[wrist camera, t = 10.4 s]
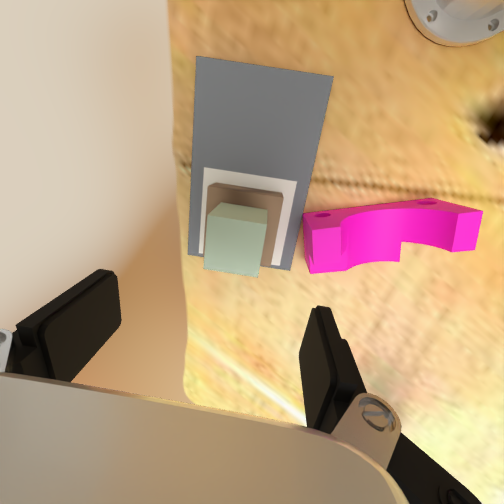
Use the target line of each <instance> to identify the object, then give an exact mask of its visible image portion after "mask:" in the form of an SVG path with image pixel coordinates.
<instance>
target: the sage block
mask: <svg viewBox="0 0 504 504" xmlns="http://www.w3.org/2000/svg"><path fill="white" fill-rule="evenodd" d="M267 212H268V210H266V209H260V208H254V207H247V206H241V205H235V204H228V203H222V202H221V203H220V204H219V205H218V206H217V207H216V208H215V209H213V210H212V211H211V212H210V213H209V214H208V215H207V229H206V242H205V255H204V268H203V269H208V270H214V271H220V272H227V273H233V274H239V275H245V276H251V277H258V274H259V268H260V262H261V257H262V251H263V245H264V240H265V234H266V228H267Z"/></svg>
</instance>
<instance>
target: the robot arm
mask: <svg viewBox="0 0 504 504" xmlns="http://www.w3.org/2000/svg"><path fill="white" fill-rule="evenodd" d="M405 3H406V6H407V9H408V12H409V15H410V17H411V19H412V21H413V22H414V24H415V26H416V27H417V29H418V30H419V31H420V32H421V33H422V34H423V35H424V36H425V37H427V38H429V39H430V40H432V41H434V42H435V43H438V44H442V45H445V46H457V47H462V46H467V45H472V44H476V43H479V42H481V41H484V40H486V39H489V38H491V37H493V36H494V35H496V34H498V33H500V32H502V31H504V0H405ZM427 19H428V21H427ZM120 324H121V310H120V300H119V290H118V280H117V276H116V275H115V274H114V272H113V271H109V270H103V269H98V270H96V271H95V272H93V273H92V274H90V275H89V276H88V277H86V278H85V279H83V280H82V281H80V282H79V283H77V284H76V285H74V286H73V287H71V288H70V289H68V290H67V291H65V292H64V293H62V294H61V295H59V296H58V297H56V298H55V299H53V300H52V301H50V302H49V303H47V304H46V305H45V306H43V307H42V308H40V309H39V310H37V311H36V312H34V313H33V314H31V315H30V316H28V317H27V318H25V319H24V320H22V321H21V322H19V323H18V324H17V325H16V328H17V330H16V331H15V332H13V333H11V332H10V331H9V330H5V329H0V504H482V503H481V502H480V501H479V500H478V498H477V497H475V496H474V495H473V494H472V493H471V492H470V491H469V490H468V489H467V488H466V487H465V486H464V485H462V484H461V483H460V482H459V481H458V480H457V479H455V478H454V477H453V476H452V475H451V474H449V473H448V472H447V471H446V470H445V469H444V468H442V467H441V466H440V465H439V464H438V463H436V462H435V461H434V460H433V459H432V458H431V457H429V456H428V455H427V454H426V453H425V452H424V451H422V450H421V449H420V448H419V447H418V446H416V445H415V444H414V443H413V442H412V441H411V440H409V439H408V438H407V437H406V436H405V435H403V434H402V433H401V423H400V419H399V417H398V415H397V414H396V412H395V411H394V409H393V408H392V407H391V406H390V405H389V404H388V403H387V402H386V401H384V400H383V399H381V398H380V397H378V396H376V395H373V394H370V393H367V391H366V389H365V386H364V383H363V381H362V378H361V376H360V373H359V370H358V368H357V365H356V363H355V360H354V357H353V355H352V352H351V349H350V347H349V344H348V342H347V341H346V340H345V339H341V336H340V334H339V331H338V328H337V325H336V322H335V319H334V317H333V314H332V311H331V309H330V308H329V307H324V306H317V307H316V308H312V310H311V314H310V317H309V320H308V324H307V327H306V331H305V334H304V337H303V341H302V344H301V348H300V351H299V363H300V371H301V380H302V388H303V397H304V405H305V414H306V422H307V427H304V426H300V425H297V424H293V423H288V422H283V421H278V420H273V419H268V418H263V417H258V416H254V415H248V414H243V413H238V412H232V411H227V410H221V409H216V408H211V407H205V406H200V405H195V404H189V403H184V402H178V401H173V400H167V399H162V398H156V397H150V396H145V395H139V394H134V393H128V392H123V391H117V390H111V389H106V388H100V387H93V386H88V385H83V384H77V383H71V381H72V380H73V379H74V378H75V376H76V375H77V374H78V373H79V372H80V371H81V370H82V368H83V367H84V366H85V365H86V364H87V363H88V362H89V361H90V359H91V358H92V357H93V356H94V355H95V354H96V352H97V351H98V350H99V349H100V348H101V347H102V346H103V345H104V344H105V342H106V341H107V340H108V339H109V338H110V337H111V336H112V334H113V333H114V332H115V331H116V330H117V329H118V328H119V326H120Z"/></svg>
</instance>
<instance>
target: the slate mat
mask: <svg viewBox="0 0 504 504" xmlns="http://www.w3.org/2000/svg"><path fill="white" fill-rule="evenodd" d="M333 78H334V76H327V75H321V74H314V73H307V72H301V71H294V70H287V69H281V68H274V67H267V66H261V65H254V64H247V63H241V62H234V61H227V60H221V59H214V58H207V57H201V56H196V76H195V99H194V122H193V145H192V168H191V191H190V214H189V237H188V255H194V256H200V257H204V256H203V246H204V231H205V217H206V202H207V188H208V186H209V185H211V184H213V183H215V182H217V183H223V184H230V185H236V186H243V187H249V188H256V189H262V190H269V191H275V192H281V193H282V194H283V197H284V199H283V205H282V210H281V215H280V220H279V226H278V231H277V236H276V241H275V247H274V252H273V257H272V262H271V267H270V268H276V269H282V270H289V271H290V268H291V264H292V259H293V255H294V250H295V246H296V242H297V237H298V233H299V228H300V224H301V219H302V215H303V211H304V206H305V202H306V197H307V193H308V188H309V184H310V180H311V175H312V171H313V166H314V162H315V157H316V153H317V148H318V144H319V140H320V135H321V131H322V126H323V122H324V117H325V113H326V109H327V104H328V100H329V95H330V91H331V86H332V82H333ZM260 266H262V265H260ZM263 267H268V266H263Z"/></svg>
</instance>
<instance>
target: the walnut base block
mask: <svg viewBox="0 0 504 504" xmlns="http://www.w3.org/2000/svg"><path fill="white" fill-rule="evenodd" d="M283 199H284V197H283V194H282V193H281V192H275V191H269V190H262V189H256V188H249V187H243V186H236V185H230V184H223V183H217V182H215V183H213V184H211V185H209V186H208V188H207V202H206V217H205V231H204V246H203V256H204V255H205V242H206V229H207V215H208V214H209V213H210V212H211V211H212V210H213V209H215V208H216V207H217V206H218V205H219V204H220V203H221V202H222V203H228V204H235V205H241V206H247V207H254V208H260V209H266V210H268V212H267V228H266V234H265V240H264V245H263V251H262V257H261V262H260V265H262V266H268V267H271V262H272V257H273V252H274V247H275V241H276V236H277V231H278V226H279V220H280V215H281V210H282V205H283Z"/></svg>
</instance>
